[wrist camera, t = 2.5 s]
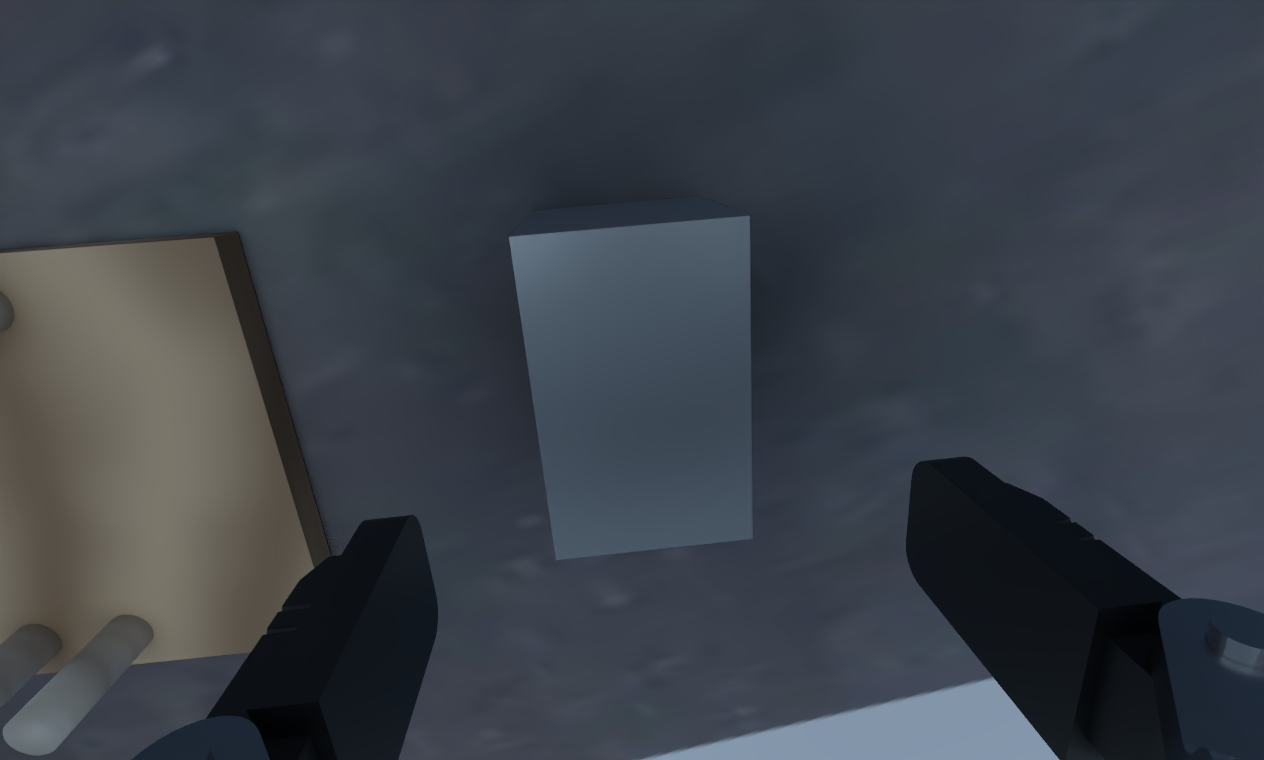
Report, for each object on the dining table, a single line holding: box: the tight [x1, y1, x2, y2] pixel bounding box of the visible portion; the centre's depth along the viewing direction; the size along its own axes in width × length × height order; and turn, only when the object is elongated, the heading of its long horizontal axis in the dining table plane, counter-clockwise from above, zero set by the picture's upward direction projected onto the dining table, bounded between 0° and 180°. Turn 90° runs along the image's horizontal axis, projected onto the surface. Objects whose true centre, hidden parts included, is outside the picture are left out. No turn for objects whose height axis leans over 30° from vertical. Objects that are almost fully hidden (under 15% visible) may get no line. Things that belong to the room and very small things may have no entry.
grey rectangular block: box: [509, 196, 753, 560], centre depth 17 cm, size 5×8×6 cm, turn 4°
